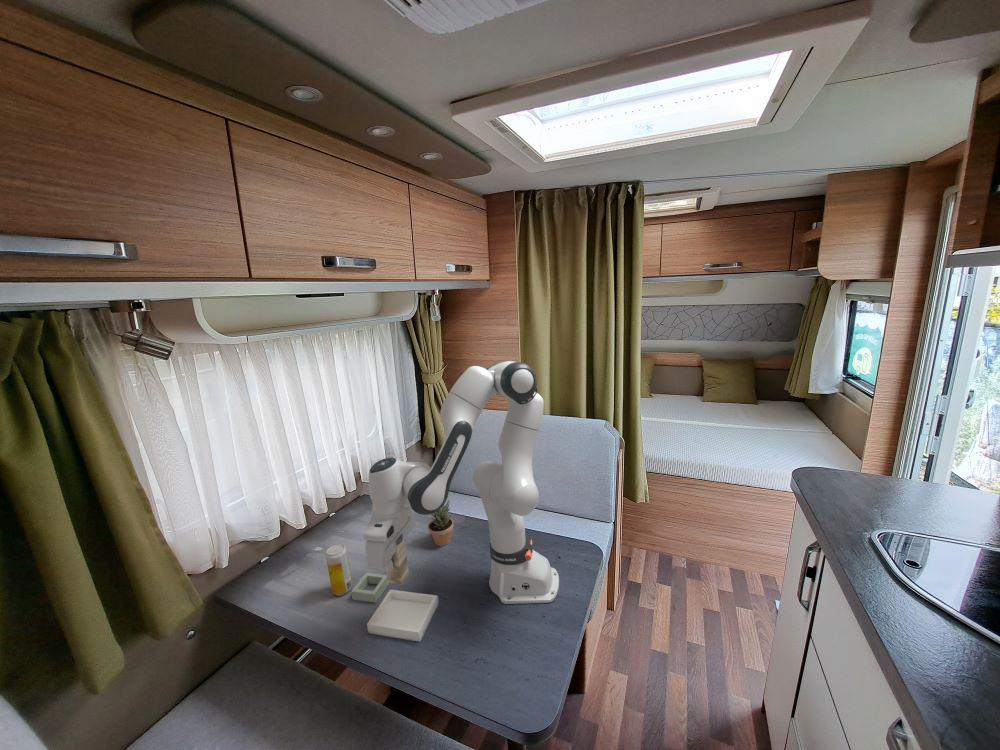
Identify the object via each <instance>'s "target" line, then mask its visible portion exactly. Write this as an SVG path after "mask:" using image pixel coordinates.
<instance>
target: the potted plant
mask: <svg viewBox="0 0 1000 750" xmlns="http://www.w3.org/2000/svg"><path fill="white" fill-rule="evenodd" d="M450 502H451V501H450V499H447V501H446V503H445V504H444V505H443V507H442V508H441V509H439V510H438V511H436V512H435V513H432V514H430V515H431V516H432V517H430V519H431V521H430V522H429V524H428V525H427V527H428V528H427V529H428V532H429V534H430V535H431V537H432V538H433V541H434V543H435V545H436V546H438V547H444V546H447V545H448V544H450V543H451V540H452V532H453V529H454V520H453V519H452V518H451V517H453V515H452V514H451V515H449V512H450V509H451V507H450ZM443 545H444V546H443Z"/></svg>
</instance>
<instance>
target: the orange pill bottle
mask: <svg viewBox="0 0 1000 750" xmlns="http://www.w3.org/2000/svg"><path fill="white" fill-rule="evenodd" d="M347 552H348V551H347V548H346V547H345V545H344V544H339V543H338V544H334V545H332V546H330V547H329V548H327V550H326V553H325V560H326V566H327V571H328V575H329V582H330V586H331V592H332V594H333V595H335V596H338V597H339V596H340V597H342V596H344V595H346V594H348V593H349V592H350V591H351V589H352V586H353V582H352V577H351V576H352V575H351V570H350V565H349V563H350V562H349V559H348V553H347Z"/></svg>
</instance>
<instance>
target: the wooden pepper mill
mask: <svg viewBox="0 0 1000 750" xmlns="http://www.w3.org/2000/svg"><path fill="white" fill-rule="evenodd" d="M391 560H392V561H395V566H394V568H393V569H392V570H388V569H387V567H386V565H385V566H384V568H385V575H387V582H388V583H389V584H396V585H403V584H404V582H405V580H406V579H407V577H408V576H409V574H410V570H409V564H408V563H409V562H408V554H407V546H406V543H405V538H404V536H403V535H402V534H401V535H400V537H399V538H398V539H397V540H396V552H395V553H394V554H393V556H392V559H391Z"/></svg>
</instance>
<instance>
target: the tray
mask: <svg viewBox="0 0 1000 750" xmlns="http://www.w3.org/2000/svg"><path fill="white" fill-rule="evenodd" d="M382 599H383V600H382V601H381V602H380V604H379V606H378V607H377V608H376V610H375V611H374V612H373V615H372V616H371V618H370V619H369V621H368V622H367V623H366V627H367V633H368V634H371V635H377V636H384V637H389V638H395V639H396V638H397V639H401V640H406V641H407V640H408V641H416V642H422V640H423V637H424V635H425V634H426V632H427V629H428V627H429V624H430V622H432V621H431V620H432V619H433V617H434V614H435V613H436V610H437V609H438V606H439V605H440V604H439V596H438V595H436V594H435V595H434V594H427V593H421V592H412V591H403V590H398V589H389V590H388V592H387V593H386V595H385V596H384V598H382Z"/></svg>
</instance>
